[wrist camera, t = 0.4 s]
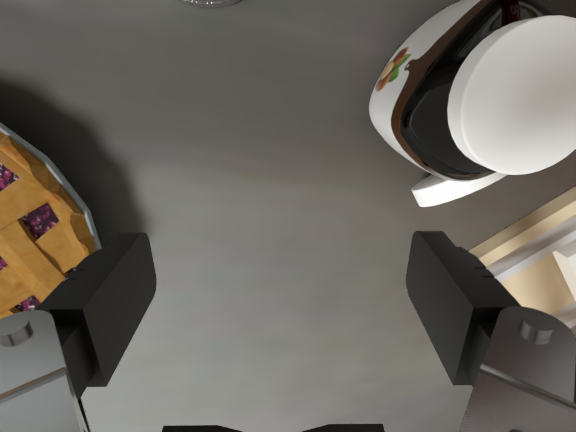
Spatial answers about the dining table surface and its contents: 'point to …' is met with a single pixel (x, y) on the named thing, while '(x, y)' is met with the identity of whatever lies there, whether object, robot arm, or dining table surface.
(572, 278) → the slider
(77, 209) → the pie
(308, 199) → the dining table surface
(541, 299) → the base
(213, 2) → the robot arm
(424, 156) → the spread jar
